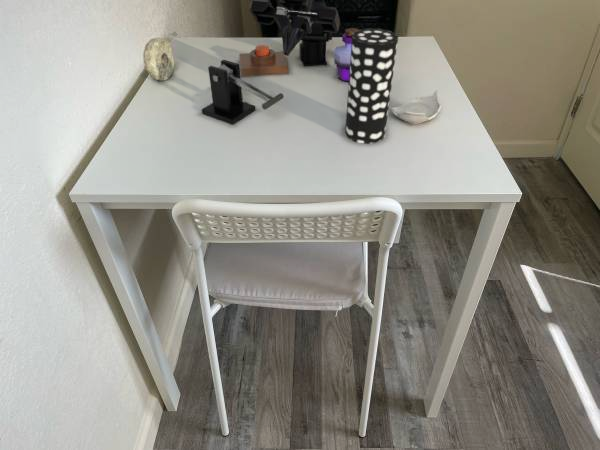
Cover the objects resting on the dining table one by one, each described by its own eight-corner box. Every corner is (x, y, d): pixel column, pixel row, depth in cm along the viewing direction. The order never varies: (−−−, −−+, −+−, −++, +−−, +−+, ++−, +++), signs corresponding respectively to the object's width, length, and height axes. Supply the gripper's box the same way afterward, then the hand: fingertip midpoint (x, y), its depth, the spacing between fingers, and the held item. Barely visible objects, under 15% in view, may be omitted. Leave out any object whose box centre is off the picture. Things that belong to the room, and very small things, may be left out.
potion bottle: (352, 88, 113) (356, 38, 105) (324, 78, 117) (326, 30, 109) (371, 76, 118) (376, 28, 110) (344, 68, 122) (347, 21, 114)
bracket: (255, 110, 104) (252, 63, 97) (232, 124, 99) (227, 77, 92) (225, 100, 108) (220, 55, 101) (202, 114, 103) (194, 67, 96)
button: (268, 51, 122) (268, 44, 120) (270, 56, 119) (269, 49, 118) (255, 52, 121) (254, 45, 120) (256, 57, 118) (255, 50, 117)
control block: (283, 59, 127) (282, 44, 124) (288, 73, 119) (287, 58, 117) (240, 61, 125) (238, 47, 123) (242, 76, 118) (240, 61, 115)
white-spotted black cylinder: (388, 127, 98) (401, 31, 85) (380, 146, 92) (393, 46, 79) (350, 121, 100) (358, 26, 87) (340, 139, 94) (347, 41, 81)
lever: (282, 102, 97) (284, 92, 95) (265, 113, 93) (267, 103, 91) (228, 71, 101) (229, 61, 99) (209, 80, 97) (210, 70, 95)
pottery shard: (429, 107, 105) (434, 87, 101) (449, 132, 97) (454, 110, 93) (386, 110, 104) (389, 90, 100) (402, 136, 95) (406, 114, 92)
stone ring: (158, 87, 113) (149, 47, 107) (146, 85, 114) (136, 45, 108) (180, 71, 120) (172, 32, 114) (168, 70, 121) (160, 31, 115)
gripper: (249, -45, 91) (231, 30, 91) (340, -37, 87) (321, 42, 86) (265, -12, 102) (249, 55, 101) (346, -4, 98) (330, 66, 97)
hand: (285, 54), depth 96 cm, fingers closed
